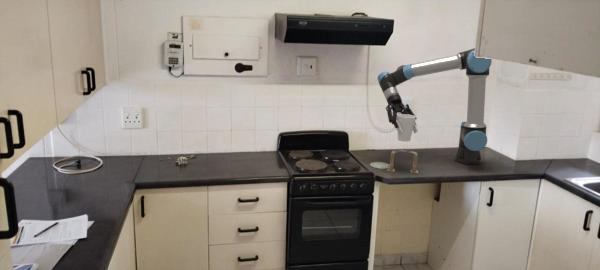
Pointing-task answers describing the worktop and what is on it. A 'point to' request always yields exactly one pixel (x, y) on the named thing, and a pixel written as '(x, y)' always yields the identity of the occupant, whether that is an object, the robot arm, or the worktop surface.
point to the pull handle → (413, 161)
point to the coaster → (380, 165)
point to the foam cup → (405, 126)
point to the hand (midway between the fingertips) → (408, 132)
